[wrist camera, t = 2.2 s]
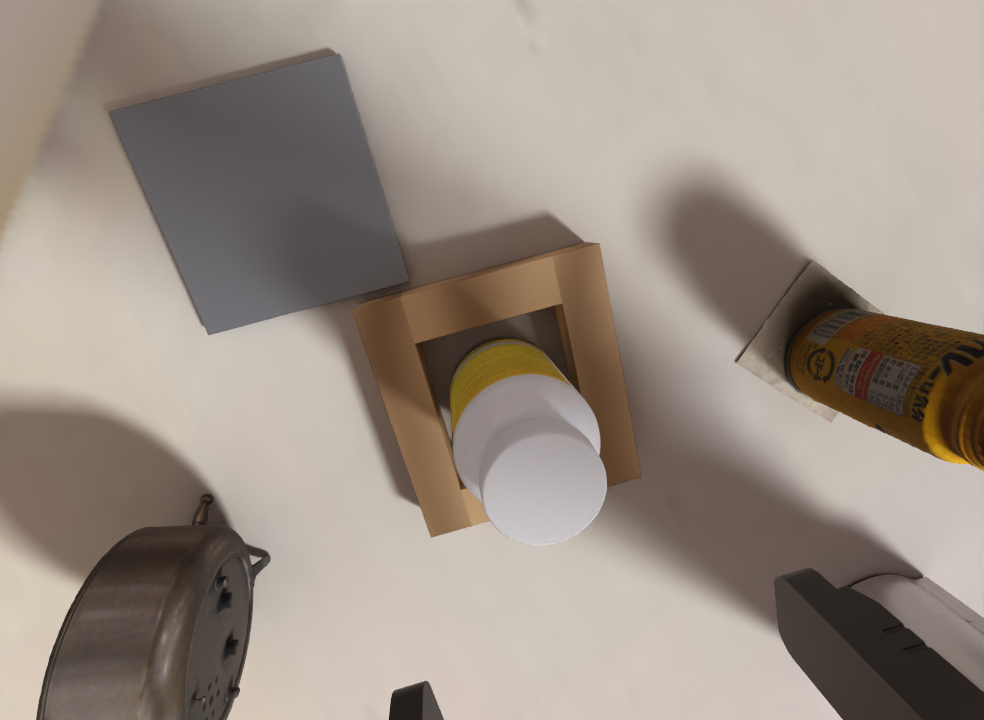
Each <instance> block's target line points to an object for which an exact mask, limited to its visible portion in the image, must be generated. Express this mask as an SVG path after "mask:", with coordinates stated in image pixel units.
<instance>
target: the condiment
mask: <svg viewBox="0 0 984 720" xmlns="http://www.w3.org/2000/svg"><path fill="white" fill-rule="evenodd" d="M830 303H832V304H831V305H830ZM779 345H781V350H779V348H778V347H779ZM781 352H783V355H782V356H780V353H781ZM737 363H738V364H739V365H741V366H742V367H744V368H746V369H747V370H749V371H750V372H752V373H753V374H755V375H757V376H758V377H760V378H762V379H763V380H765V381H766V382H768V383H769V384H771V385H773V386H774V387H776V388H777V389H779V390H780V391H782V392H783V393H785V394H787V395H788V396H790V397H791V398H793V399H795V400H796V401H798V402H799V403H801V404H802V405H804V406H806V407H807V408H809V409H810V410H812V411H814V412H815V413H817V414H818V415H820V416H821V417H823V418H825V419H826V420H828V421H830V422H832V421H833V419H834V417H835V416H836V415H837V414H838V413H839V412H841V413H843V414H845V415H847V416H849V417H851V418H853V419H855V420H857V421H859V422H861V423H863V424H866V425H867V426H869V427H873V428H875V429H878V430H880V431H882V432H883V433H886V434H888V435H891V436H893V437H895V438H897V439H899V440H901V441H903V442H905V443H908V444H910V445H911V446H913V447H916V448H918V449H920V450H922V451H923V452H927V453H929V454H931V455H933V456H935V457H936V458H939V459H942V460H944V461H948V462H952V463H959V464H971V465H973V466H975V467H977V468H978V469H980V470H983V471H984V335H982V334H977V333H973V332H967V331H962V330H957V329H952V328H947V327H942V326H937V325H931V324H926V323H922V322H917V321H913V320H908V319H902V318H898V317H893V316H888V315H885V314H884V313H883V312H881V311H880V310H878V309H877V308H875V307H874V306H873V305H871V304H870V303H869V302H868V301H866V300H865V299H864V298H862V297H861V296H860V295H859V294H857V293H856V292H855V291H854V290H853V289H851V288H849V287H848V286H847V285H845V284H844V283H843V282H842V281H840V280H838V279H837V278H836V277H834V276H833V275H832V274H830V273H829V272H828V271H827V270H826V269H825V268H823V267H822V266H820V265H819V264H817V263H816V262H815V261H812V262H811V263H810V264H809V265H808V267H807V268H806V269H805V271H804V272H803V273H802V274H801V275H800V276H799V277H798V279H797V280H796V282H795V283H794V284H793V285H792V287H791V288H790V290H789V291H788V293H787V294H786V295H785V296H784V297H783V298H782V300H781V301H780V303H779V304H778V305H777V307H776V308H775V310H774V311H773V312H772V314H771V315H770V317H769V318H768V319H766V321H765V322H764V325H763V326H762V328H761V330H760V331H759V332H758V334H757V335H756V337H755V338H754V339H753V340H752V341H751V343H750V344H749V346H748V348H747V349H746V351H745V352H744V354H743V355H742V356H741V358H740V359H739V361H738V362H737Z"/></svg>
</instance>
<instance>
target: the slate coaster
mask: <svg viewBox="0 0 984 720" xmlns="http://www.w3.org/2000/svg"><path fill="white" fill-rule="evenodd" d="M109 114H110V116H111V119H112V121H113V123H114V125H115V128H116V130H117V132H118V134H119V136H120V139H121V141H122V143H123V145H124V148H125V150H126V152H127V154H128V157H129V159H130V161H131V163H132V166H133V168H134V170H135V172H136V174H137V177H138V179H139V181H140V183H141V186H142V188H143V190H144V192H145V195H146V197H147V199H148V201H149V203H150V206H151V208H152V210H153V212H154V215H155V217H156V219H157V221H158V224H159V226H160V228H161V230H162V232H163V235H164V237H165V239H166V241H167V244H168V246H169V248H170V250H171V253H172V255H173V257H174V259H175V261H176V264H177V266H178V268H179V270H180V273H181V275H182V277H183V279H184V282H185V284H186V286H187V288H188V290H189V293H190V295H191V297H192V299H193V302H194V304H195V306H196V308H197V311H198V313H199V315H200V317H201V319H202V322H203V324H204V326H205V328H206V331H207V333H208V335H211V334H215V333H219V332H222V331H226V330H230V329H234V328H237V327H241V326H245V325H248V324H252V323H256V322H260V321H263V320H267V319H271V318H274V317H278V316H282V315H286V314H289V313H293V312H297V311H300V310H304V309H308V308H312V307H315V306H319V305H323V304H326V303H330V302H334V301H338V300H341V299H345V298H349V297H352V296H356V295H360V294H364V293H367V292H371V291H375V290H378V289H382V288H386V287H390V286H393V285H397V284H401V283H404V282H408V281H410V279H409V276H408V272H407V269H406V266H405V263H404V259H403V256H402V253H401V249H400V246H399V243H398V240H397V236H396V233H395V230H394V227H393V223H392V220H391V217H390V213H389V210H388V207H387V204H386V200H385V197H384V194H383V190H382V187H381V184H380V181H379V177H378V174H377V171H376V167H375V164H374V161H373V158H372V154H371V151H370V148H369V145H368V141H367V138H366V135H365V131H364V128H363V125H362V122H361V118H360V115H359V112H358V108H357V105H356V102H355V99H354V95H353V92H352V89H351V85H350V82H349V79H348V76H347V72H346V69H345V66H344V63H343V59H342V57H341V55H340V54H336V55H332V56H328V57H324V58H320V59H316V60H312V61H308V62H304V63H300V64H296V65H292V66H288V67H284V68H280V69H276V70H272V71H268V72H264V73H260V74H257V75H253V76H249V77H245V78H241V79H237V80H233V81H229V82H225V83H221V84H217V85H213V86H209V87H205V88H201V89H197V90H193V91H189V92H185V93H181V94H177V95H174V96H170V97H166V98H162V99H158V100H154V101H150V102H146V103H142V104H138V105H134V106H130V107H126V108H122V109H118V110H114V111H110V112H109Z"/></svg>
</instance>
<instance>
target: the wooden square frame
mask: <svg viewBox="0 0 984 720" xmlns="http://www.w3.org/2000/svg"><path fill="white" fill-rule="evenodd" d="M551 306H554V309H555V314H556V318H557V323H558V327H559V332H560V337H561V341H562V346H563V350H564V355H565V360H566V364H567V369H568V373H569V378H570V383H571V384H572V386H573V387H574V388H575V389H576V390H577V391H578V392H579V394H580V395H581V396H582V397H583V398H584V399H585V400H586V402H587V403H588V405H589V406H590V408H591V409H592V411H593V413H594V415H595V417H596V420H597V423H598V427H599V432H600V453H599V457H600V459H601V460H602V463H603V465H604V468H605V471H606V476H607V487H609V486H613V485H616V484H620V483H623V482H627V481H630V480H634V479H637V478H641V472H640V466H639V461H638V455H637V450H636V444H635V438H634V433H633V427H632V422H631V416H630V411H629V405H628V400H627V394H626V389H625V383H624V378H623V372H622V367H621V361H620V355H619V350H618V344H617V339H616V333H615V328H614V322H613V317H612V311H611V306H610V300H609V295H608V289H607V284H606V278H605V272H604V267H603V261H602V256H601V250H600V245H599V243H588V242H584V243H581V244H577V245H573V246H570V247H566V248H562V249H558V250H555V251H551V252H547V253H544V254H540V255H536V256H532V257H529V258H525V259H521V260H518V261H514V262H510V263H507V264H503V265H499V266H495V267H492V268H488V269H484V270H481V271H477V272H473V273H469V274H466V275H462V276H458V277H455V278H451V279H447V280H444V281H440V282H436V283H432V284H429V285H425V286H421V287H418V288H414V289H410V290H406V291H403V292H399V293H395V294H392V295H388V296H384V297H381V298H377V299H373V300H369V301H366V302H362V303H359V304H358V305H357V306H356V307H355V308H354V309H353V310H352V312H353V315H354V318H355V321H356V324H357V327H358V329H359V332H360V335H361V338H362V341H363V344H364V347H365V350H366V352H367V355H368V358H369V361H370V364H371V367H372V370H373V372H374V375H375V378H376V381H377V384H378V387H379V390H380V393H381V395H382V398H383V401H384V404H385V407H386V410H387V413H388V416H389V418H390V421H391V424H392V427H393V430H394V433H395V436H396V439H397V441H398V444H399V447H400V450H401V453H402V456H403V459H404V461H405V464H406V467H407V470H408V473H409V476H410V479H411V482H412V484H413V487H414V490H415V493H416V496H417V499H418V502H419V505H420V507H421V510H422V513H423V516H424V519H425V522H426V525H427V528H428V530H429V533H430V536H431V537H435V536H438V535H442V534H445V533H449V532H452V531H456V530H459V529H463V528H466V527H470V526H473V525H477V524H480V523H484V522H487V521H490V520H489V519H488V517H487V515H486V513H485V510H484V508H483V504H482V503H481V502H480V501H479V500H477V499H476V498H475V497H474V496H473V495H472V494H471V493H470V492H469V491H468V489H467V488H466V486H465V485H464V484H463V482H462V480H461V478H460V476H459V474H458V471H457V468H456V465H455V461H454V454H453V448H452V445H451V442H450V438H449V435H448V432H447V429H446V425H445V422H444V419H443V416H442V413H441V409H440V406H439V403H438V400H437V397H436V393H435V390H434V387H433V384H432V380H431V377H430V374H429V371H428V368H427V364H426V361H425V358H424V355H423V351H422V348H421V345H420V342H423V341H426V340H430V339H434V338H437V337H441V336H445V335H448V334H452V333H456V332H459V331H463V330H467V329H470V328H474V327H478V326H481V325H485V324H489V323H492V322H496V321H500V320H503V319H507V318H511V317H514V316H518V315H522V314H525V313H529V312H532V311H536V310H540V309H543V308H547V307H551Z"/></svg>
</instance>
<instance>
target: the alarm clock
mask: <svg viewBox="0 0 984 720" xmlns="http://www.w3.org/2000/svg"><path fill="white" fill-rule="evenodd" d="M200 500H201V504H200V506H199V508H198V509H197V511H196V513H195V515H194V519H193V523H192V526H169V527H146V528H142V529H139V530H137V531H134V532H133V533H131V534H129V535H127V536H126V537H125V538H123V539H122V540H121V541H119V542H118V543H117V544H116V545H115V546H113V547H112V548H111V549H110V550H109V551H108V553H107V554H106V555H104V556H103V557H102V559H101V560H100V561H99V562H98V563H97V565H96V566H95V567H94V569H93V570H92V572H91V573H90V574H89V576H88V577H87V579H86V580H85V582H84V584H83V586H82V587H81V589H80V590H79V592H78V594H77V595H76V597H75V600H74V602H73V603H72V605H71V607H70V609H69V611H68V612H67V615H66V617H65V619H64V622H63V624H62V627H61V629H60V631H59V634H58V636H57V639H56V642H55V644H54V646H53V650H52V653H51V655H50V657H49V662H48V666H47V669H46V673H45V677H44V681H43V686H42V691H41V695H40V699H39V704H38V711H37V718H36V720H227V717H228V715H229V713H230V710H231V708H232V705H233V702H234V699H235V698H236V697H237V696H238V695H239V692H240V688H239V687H238V686H239V683H240V679H241V675H242V672H243V668H244V664H245V659H246V654H247V649H248V644H249V638H250V630H251V622H252V612H253V587H254V580H255V578H256V575H257V574H258V573H259V572H260V571H261V570H262V569H263V568H264V567H266V566H267V564H268V563H269V562H270V556H269V555H267V556H265V557H263V558H262V559H261V560H260V561H258V562H257V563H255V564H254V565H251V561H250V557H249V553H248V550H247V548H246V545H245V543H244V541H243V540H242V538H241V537H240V536H239V534H238V533H236V532H235V531H234V530H232V529H231V528H229V527H227V526H225V525H206V523H207V519H208V506H209V504H211V503H212V501H213V496H212V495H210V494H206V495H202V497H201V499H200Z"/></svg>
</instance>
